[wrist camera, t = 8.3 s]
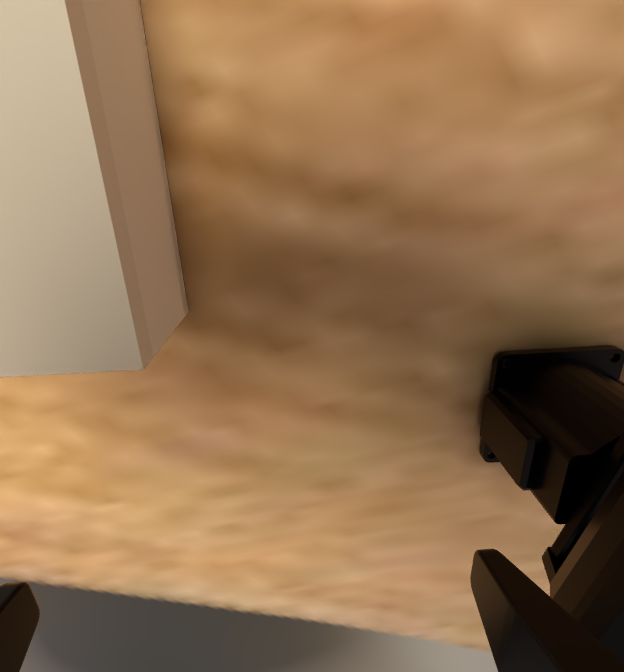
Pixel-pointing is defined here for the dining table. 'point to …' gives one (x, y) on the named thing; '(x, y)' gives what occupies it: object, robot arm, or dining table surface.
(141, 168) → the moneybox
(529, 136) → the dining table surface
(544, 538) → the dining table surface
